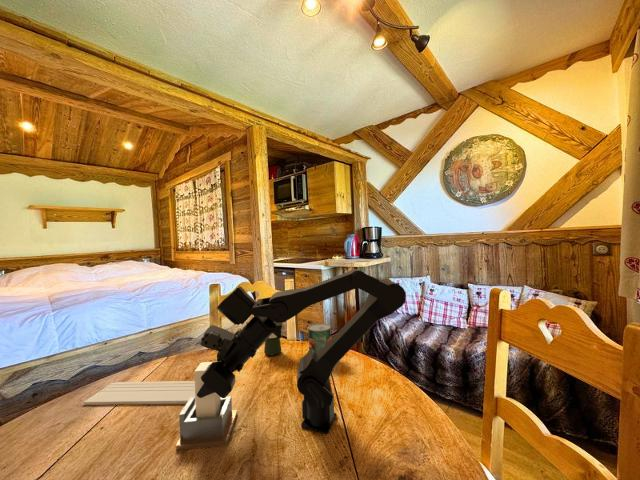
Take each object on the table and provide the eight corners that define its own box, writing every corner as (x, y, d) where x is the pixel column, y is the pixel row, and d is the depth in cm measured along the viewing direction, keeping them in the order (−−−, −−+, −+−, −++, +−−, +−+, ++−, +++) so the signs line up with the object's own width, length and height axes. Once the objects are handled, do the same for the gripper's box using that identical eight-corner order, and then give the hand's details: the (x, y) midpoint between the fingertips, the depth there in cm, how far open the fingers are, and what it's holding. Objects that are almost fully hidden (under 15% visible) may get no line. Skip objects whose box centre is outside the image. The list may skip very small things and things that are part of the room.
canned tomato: (304, 356, 95) (304, 326, 95) (323, 351, 100) (322, 321, 99) (316, 365, 89) (315, 332, 88) (336, 359, 93) (335, 327, 93)
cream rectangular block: (220, 412, 62) (219, 361, 62) (215, 424, 58) (213, 369, 58) (203, 414, 62) (201, 362, 62) (196, 426, 58) (194, 371, 58)
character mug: (289, 349, 102) (288, 315, 102) (285, 357, 95) (284, 321, 95) (261, 348, 103) (260, 315, 103) (255, 357, 96) (254, 320, 96)
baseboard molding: (119, 382, 82) (83, 407, 70) (118, 373, 82) (83, 396, 70) (219, 381, 82) (200, 406, 70) (219, 371, 82) (200, 395, 70)
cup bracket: (237, 413, 65) (236, 389, 65) (226, 445, 55) (225, 416, 55) (194, 417, 64) (193, 392, 64) (176, 450, 55) (175, 420, 54)
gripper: (233, 303, 69) (190, 349, 68) (210, 328, 51) (151, 391, 50) (265, 332, 70) (223, 377, 69) (254, 367, 51) (196, 429, 51)
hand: (201, 390), depth 60 cm, fingers closed on cream rectangular block, 4 cm apart
